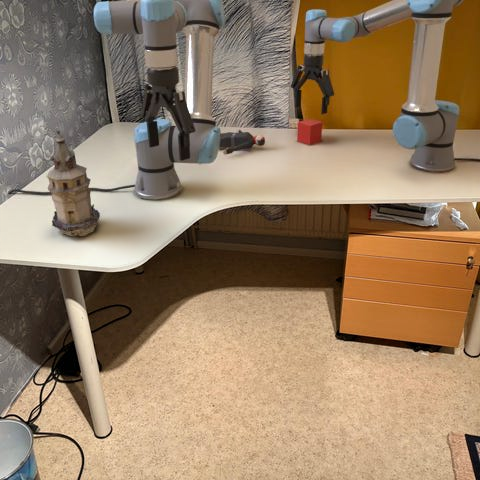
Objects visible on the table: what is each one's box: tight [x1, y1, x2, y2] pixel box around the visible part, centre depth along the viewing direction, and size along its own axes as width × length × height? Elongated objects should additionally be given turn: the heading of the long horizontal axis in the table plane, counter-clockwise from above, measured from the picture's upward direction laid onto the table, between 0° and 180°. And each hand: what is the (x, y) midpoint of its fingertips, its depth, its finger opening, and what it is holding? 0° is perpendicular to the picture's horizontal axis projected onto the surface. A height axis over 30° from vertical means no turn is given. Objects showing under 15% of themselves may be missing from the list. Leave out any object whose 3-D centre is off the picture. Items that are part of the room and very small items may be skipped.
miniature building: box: [46, 129, 101, 237], centre depth 148 cm, size 13×14×30 cm
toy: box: [219, 129, 266, 156], centre depth 213 cm, size 26×6×30 cm
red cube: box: [296, 118, 323, 146], centre depth 218 cm, size 7×7×8 cm
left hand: (169, 152), depth 137 cm, fingers open, 13 cm apart
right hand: (310, 110), depth 212 cm, fingers open, 13 cm apart
